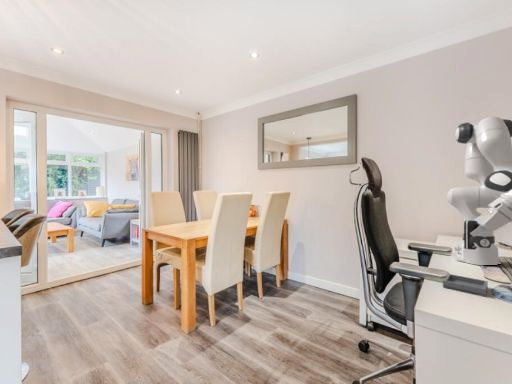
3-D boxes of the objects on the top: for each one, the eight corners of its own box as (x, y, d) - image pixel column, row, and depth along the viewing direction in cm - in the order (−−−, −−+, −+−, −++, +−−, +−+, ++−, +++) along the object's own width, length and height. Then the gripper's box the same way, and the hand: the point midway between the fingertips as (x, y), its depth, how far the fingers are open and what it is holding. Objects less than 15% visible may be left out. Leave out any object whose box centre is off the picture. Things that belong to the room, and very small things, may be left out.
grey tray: (448, 279, 100) (448, 273, 100) (487, 287, 92) (487, 281, 92) (443, 287, 92) (443, 280, 92) (485, 296, 84) (485, 289, 84)
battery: (476, 250, 96) (476, 221, 96) (463, 249, 99) (463, 220, 99) (479, 248, 100) (479, 220, 100) (467, 247, 103) (467, 219, 103)
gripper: (488, 204, 105) (459, 225, 110) (502, 205, 88) (466, 230, 93) (503, 215, 102) (472, 236, 107) (520, 218, 85) (482, 243, 90)
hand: (469, 233), depth 100 cm, fingers closed on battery, 7 cm apart
